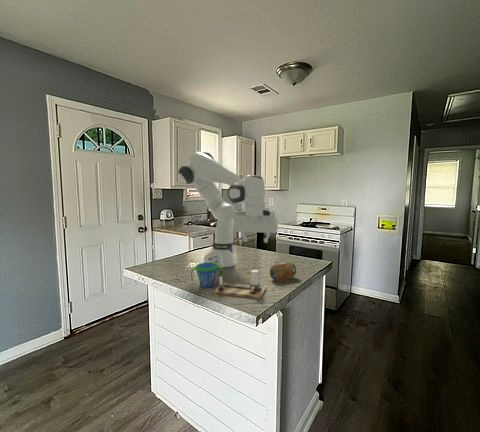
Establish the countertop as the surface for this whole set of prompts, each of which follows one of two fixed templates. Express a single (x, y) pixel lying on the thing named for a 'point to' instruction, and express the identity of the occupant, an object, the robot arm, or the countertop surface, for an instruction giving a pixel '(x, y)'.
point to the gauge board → (240, 290)
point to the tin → (282, 271)
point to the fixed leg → (220, 283)
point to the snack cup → (207, 274)
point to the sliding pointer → (254, 280)
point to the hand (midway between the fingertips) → (255, 242)
